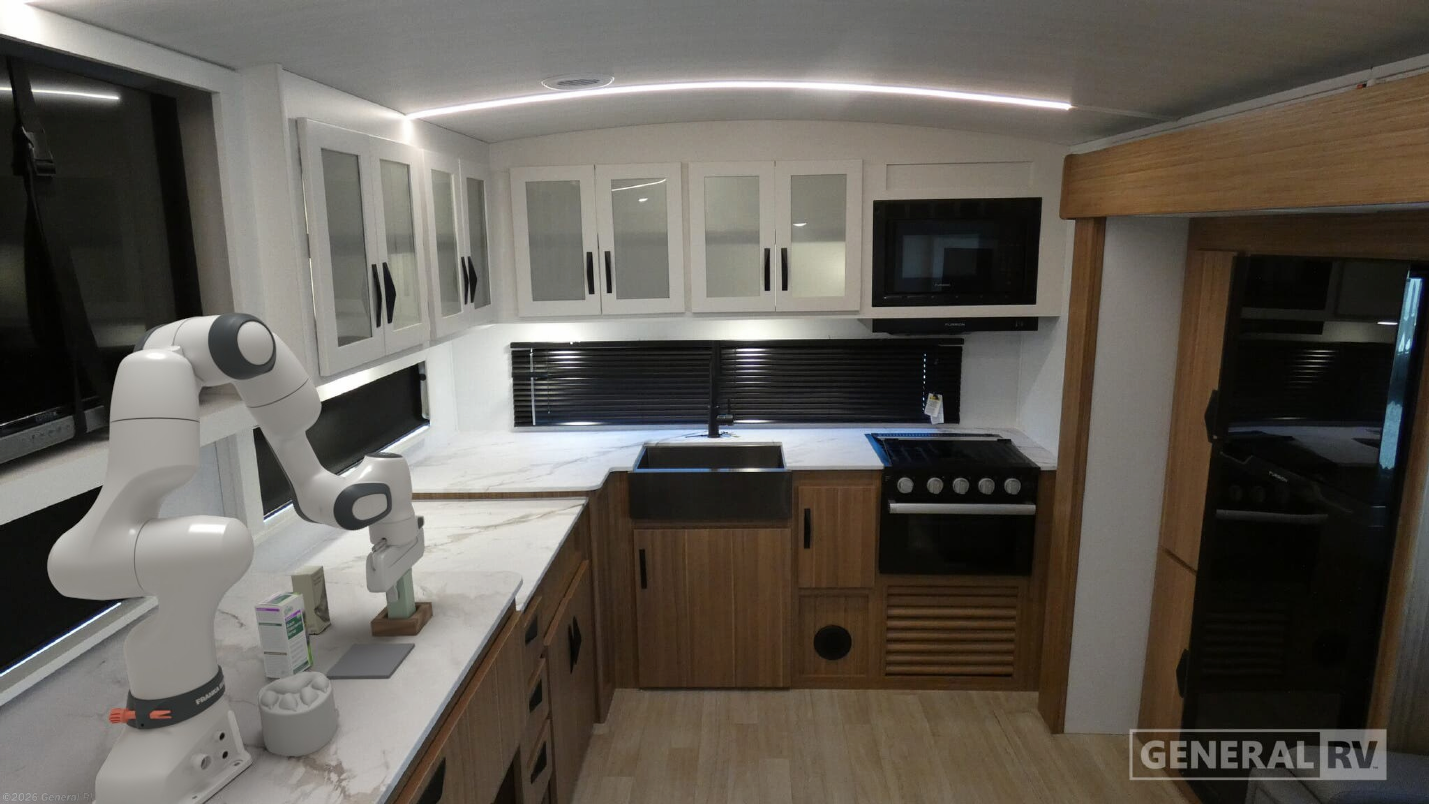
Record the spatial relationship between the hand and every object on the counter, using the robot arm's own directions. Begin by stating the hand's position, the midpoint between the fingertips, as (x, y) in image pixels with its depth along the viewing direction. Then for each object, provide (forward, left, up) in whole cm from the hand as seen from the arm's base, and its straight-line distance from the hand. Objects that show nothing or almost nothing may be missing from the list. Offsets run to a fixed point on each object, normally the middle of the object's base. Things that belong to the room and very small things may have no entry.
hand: (400, 595), depth 169 cm
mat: (-15, 0, -7) cm, 16 cm away
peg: (0, 0, -5) cm, 5 cm away
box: (-1, +18, -7) cm, 19 cm away
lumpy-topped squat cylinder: (-38, +1, -7) cm, 38 cm away
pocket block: (0, 0, -7) cm, 7 cm away
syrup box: (-18, +14, -7) cm, 24 cm away
